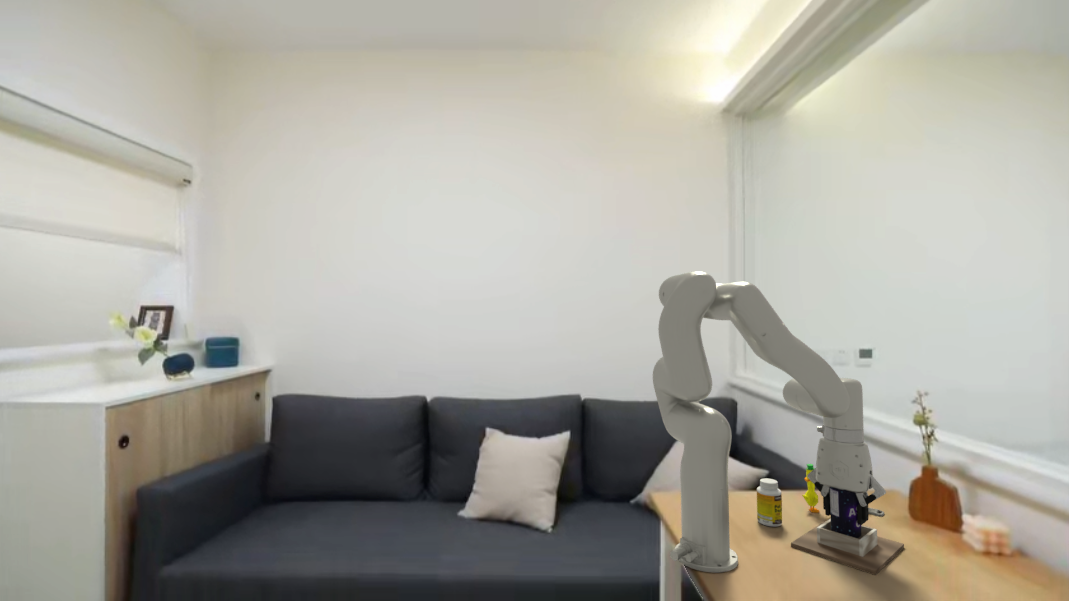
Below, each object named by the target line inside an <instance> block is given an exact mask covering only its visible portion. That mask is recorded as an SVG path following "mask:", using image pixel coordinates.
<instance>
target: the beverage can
mask: <svg viewBox="0 0 1069 601" xmlns="http://www.w3.org/2000/svg"><path fill="white" fill-rule="evenodd" d="M857 505H859V500H858V498H857V495H856V493H855V492H851V491H847V490H844V489H840V488H834V487H830V513H831V515H830V519H831V531H834V532H837V533H840V534H844V535H847V536H851V537H854V538H857V539H858V538H860V537H861V525H860V524H858V523H857Z"/></svg>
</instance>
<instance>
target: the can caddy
mask: <svg viewBox="0 0 1069 601" xmlns="http://www.w3.org/2000/svg"><path fill="white" fill-rule="evenodd" d="M790 547H792V548H794V549H796V550H800V551H803V552H806V553H810V554H812V555H814V556H818V557H821V558H823V557H824V558H823V559H826V558H827V559H826V560H829V559H830V561H832V560H833V561H832V562H836V563H838V564H842V565H845V566H848V567H850V568H853V569H856V570H859V571H862V572H865V573H869V574H870V575H874V576H877V575H878V573H880V571H881V570H882V569H883V568H885V567H886V566H887V565H888V564H889V563H890V562H891V561H892V560H893V559H894V558H895V557H897V555H898V554H899V553H900V552H901V551H903V549H905V543H902V542H899V541H895V540H892V539H889V538H885V537H881V536H878V529H876V528H874V527H871V526H866V525H863V524H862V525H861V537H860V538H858V539H857V538H854V537H851V536H847V535H844V534H840V533H837V532H834V531H831V518H829V519H828V520H826V521H823V522H821V523H820V524H818V525H817V526H815V527H813V528H812V529H810V530H809V531H807V532H806V533H804V534H802V535H801V536H799V537H797V538H796V539H794V540H793V541H792V542H791V543H790Z"/></svg>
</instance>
